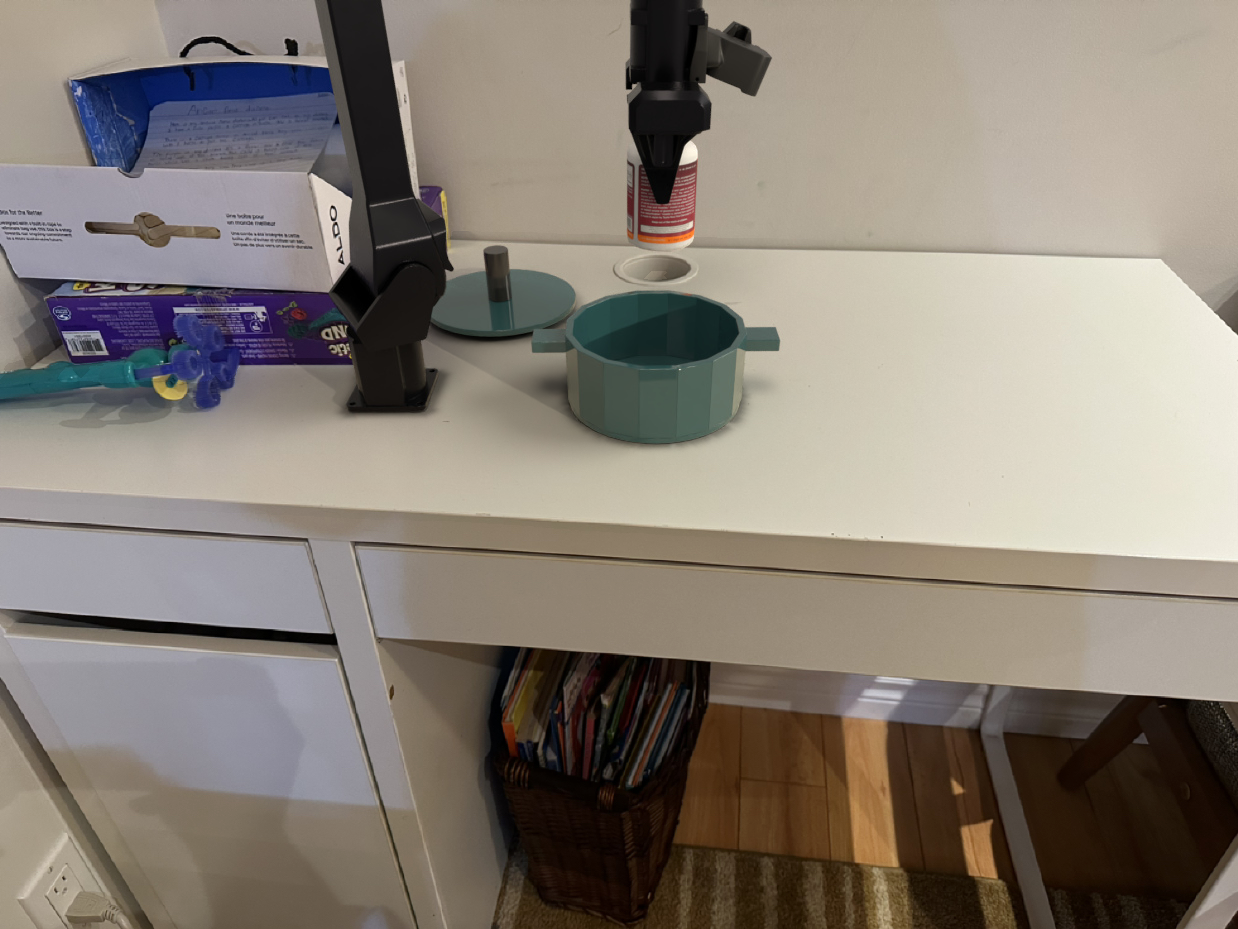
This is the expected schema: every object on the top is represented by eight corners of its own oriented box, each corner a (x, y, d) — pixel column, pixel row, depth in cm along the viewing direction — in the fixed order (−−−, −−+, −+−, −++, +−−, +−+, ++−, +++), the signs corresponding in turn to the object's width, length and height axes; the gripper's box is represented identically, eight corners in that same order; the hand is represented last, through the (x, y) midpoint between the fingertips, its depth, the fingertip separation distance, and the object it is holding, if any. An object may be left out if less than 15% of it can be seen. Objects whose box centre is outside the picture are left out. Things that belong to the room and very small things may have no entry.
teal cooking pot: (784, 443, 65) (794, 368, 61) (529, 444, 65) (523, 370, 61) (760, 356, 76) (766, 289, 72) (543, 358, 76) (539, 291, 73)
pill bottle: (707, 241, 77) (715, 115, 71) (662, 259, 74) (666, 127, 68) (658, 225, 81) (661, 103, 75) (612, 241, 78) (612, 114, 71)
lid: (572, 341, 79) (569, 279, 75) (411, 343, 79) (400, 280, 76) (579, 278, 91) (577, 222, 88) (439, 279, 92) (431, 223, 88)
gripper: (790, 6, 58) (767, 227, 67) (752, -19, 74) (738, 163, 83) (629, 6, 58) (628, 227, 67) (625, -19, 74) (624, 163, 83)
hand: (660, 192), depth 75 cm, fingers closed on pill bottle, 6 cm apart
